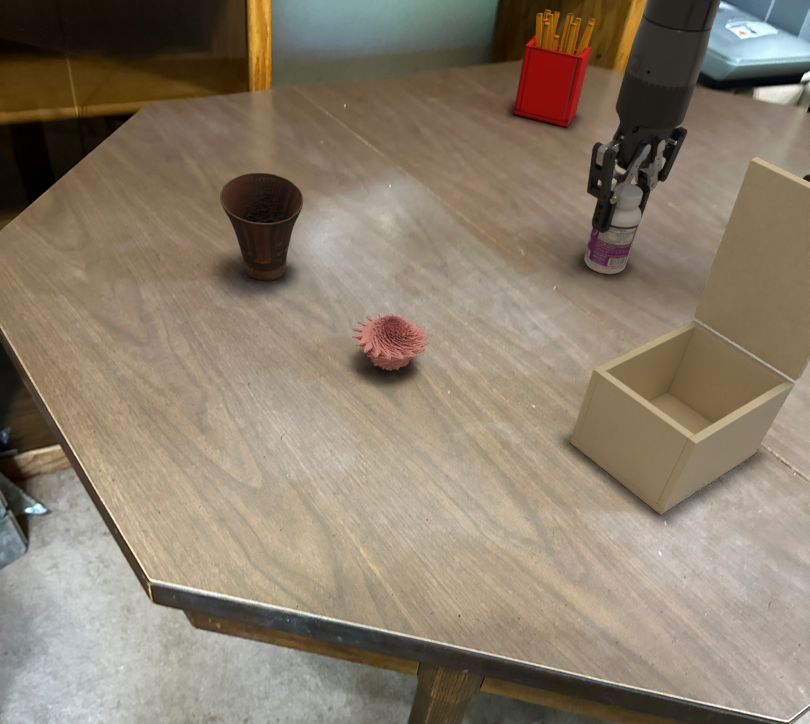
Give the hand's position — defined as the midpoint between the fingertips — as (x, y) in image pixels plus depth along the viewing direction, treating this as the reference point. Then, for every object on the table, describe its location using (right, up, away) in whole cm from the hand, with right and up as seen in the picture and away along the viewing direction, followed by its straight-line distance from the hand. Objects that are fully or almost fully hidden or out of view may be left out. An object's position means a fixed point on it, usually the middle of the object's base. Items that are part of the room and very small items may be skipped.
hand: (616, 223), depth 94 cm
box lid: (+6, -16, -28) cm, 33 cm away
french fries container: (-2, +32, +34) cm, 47 cm away
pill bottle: (0, -4, +4) cm, 6 cm away
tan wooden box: (0, -30, -18) cm, 35 cm away
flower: (-27, -20, -13) cm, 36 cm away
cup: (-42, -8, -4) cm, 43 cm away
